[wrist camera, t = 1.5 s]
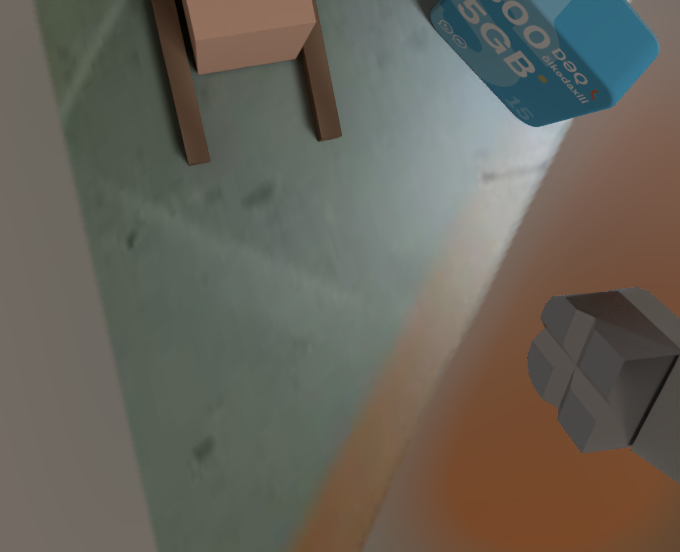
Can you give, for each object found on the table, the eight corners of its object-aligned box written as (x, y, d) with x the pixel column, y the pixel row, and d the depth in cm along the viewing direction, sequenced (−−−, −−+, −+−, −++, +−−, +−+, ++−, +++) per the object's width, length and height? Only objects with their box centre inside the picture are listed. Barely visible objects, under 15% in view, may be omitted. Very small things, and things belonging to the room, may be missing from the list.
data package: (422, 17, 48) (491, -47, 36) (461, -26, 48) (543, -103, 36) (528, 131, 50) (625, 105, 38) (564, 89, 50) (672, 51, 39)
